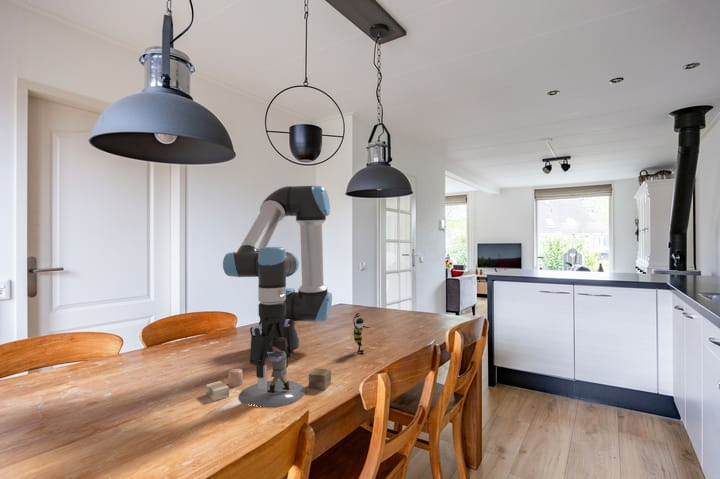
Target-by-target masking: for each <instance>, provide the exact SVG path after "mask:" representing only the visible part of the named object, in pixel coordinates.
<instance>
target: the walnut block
mask: <svg viewBox="0 0 720 479" xmlns="http://www.w3.org/2000/svg"><path fill="white" fill-rule="evenodd" d="M331 375H332V369H326V368H324V369H323V368H314V369H313V370H312V371H311V372H309V373H308V389H309V390H310V389H311V390H318V391H326V390H327V389H328V388H329V387H330V386H331V384H332V376H331Z"/></svg>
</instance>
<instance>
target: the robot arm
mask: <svg viewBox="0 0 720 479" xmlns="http://www.w3.org/2000/svg"><path fill="white" fill-rule="evenodd" d="M330 204H331V203H330V198H329V195H328V192H327V189H326V188H325V187H323V186H322V185H297V186H296V185H294V186H290V185H289V186H288V185H286V186H282V187H280V188H278V189H276V190H274V191H273V192H271V193H270V194H269V195H268V196H267V197H266V198H265V199H264V200H263V201H262V203H261V205H260V207H259V214H258V215H257V217H256V218H255V221H254V222H253V223H252V226H251V227H250V229H249V231H248V232H247V235H246V236H245V238H244V239H243V242H242V243H241V245H240V247H239V248H238V249H237V251H236V252H235V251H232V252H228V253H226V254H225V255H224V257H223V260H222V270H223V272H224V274H225V275H226V276H228V277H235V278H256V277H257V278H258V285H257V286H258V287H257V288H258V290H257V292H258V296H257V298H258V302H259V304H258V317H259V323H258V325H257V326H255V327H253V326H252V327H250V328H249V331H250V335H251V337H250V338H251V339H250V352H249V353H250V354H249V364H250V365H253V366H255V368H256V369H255V370H256V371H255V372H256V374H255V376H256V378H257V383H258V388H260V389H263V390H267V381H268V365H267V364H265V363H266V359H267V358H266V356H267V352H273V348H272V347H273V346H272V343H273V338H274V337H284V338H286V339H287V342H288V347H287V349H286V350H285V351H284V352H285V353H286V363H285V368H286V369H287V368H288V365H289V364H288V363H289V359H290V358H291V357H292V355H291V354H293V353H294V350H295V349H297V348H299V347H300V338H299V336H298V332H297V330H296V322H309V323H311V322H313V323H318V322H319V323H320V322H326V321H327V320H328V319H329V317H330V315H331V314H330V313H331V309H332V301H333V294H332V293H331V292H330V291H328V287H327V285H325V284H324V257H323V256H324V255H323V252H324V250H323V249H324V248H323V246H324V244H323V224H324V223H325V222H326V219H327V217H328V216H329V215H330V213H331V205H330ZM285 217H295V221H296V222H297V223H298V224H299V228H300V230H299V231H300V232H299V233H300V236H299V237H300V257H301V258H300V261H301V262H300V261H299V259H298V257H297V256H296V255H295V254H294V253H293V252H289V251H286V248H285V247H283V246H268V244H269V243H270V240H271V238H272V237H273V234H274V233H275V231H276V228H277V226H278V225H279V223H280V222H281V221H282V220H284V218H285ZM300 263H301V285H300V286H299V287H298V289H297V290H298V291H296V290H295V288H294V287H289V288H287V284H286V283H287V278H289V277H291V276H292V275H294V274H295V273H296V272H297V271H298V270H299V265H300ZM284 377H285V380H286V381H288V380H287V373H286V375H284ZM278 380H280V378H278ZM280 381H281V380H280Z"/></svg>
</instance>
